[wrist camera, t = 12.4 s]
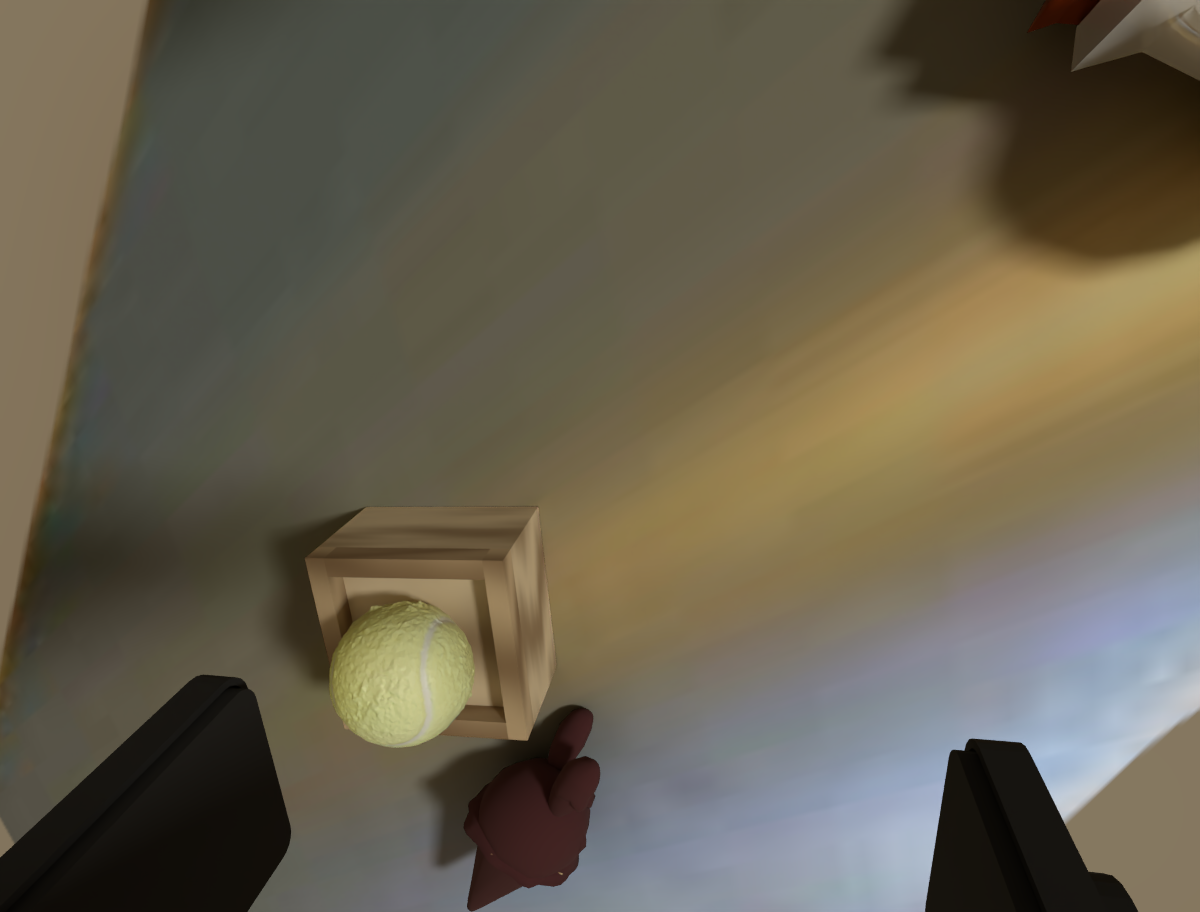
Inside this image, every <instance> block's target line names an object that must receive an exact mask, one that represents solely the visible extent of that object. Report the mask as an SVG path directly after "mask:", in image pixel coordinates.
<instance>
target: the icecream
mask: <svg viewBox="0 0 1200 912" xmlns="http://www.w3.org/2000/svg"><path fill="white" fill-rule="evenodd" d="M592 723H593V714H592V712H591V711H589V710H588V709H585V708H580V709H577V710H574V711H572V712H571V713H570V714H569V715H568V716H567V717H566V718H565V719H564V720H563V721H562V722H561V723H560V725H559V728H558V730H557V732H556V735H555V737H554V739H553V742H552V744H551V747H550V750H549V756H548V759H546V758H533V759H530V760H526V761H522V762H518V763H515V764H513V765H511V766H508V767H506V768H504V769H503V770H502V771H501V772H500V773H499V774H498V775H497V776H496V777H495V778H494V779H493V780H492V782H490V783H489V784H487V785H486V786H485V787H484V788H483V789H482V790H481V791H480V793H479V794H478V795H477V796H476V797H475V798H473V799H472V800H471V801H470V802H469V805H468V808H469V813H468V815H467V818H466V820H465V822H464V830H465V832H466V834H467V835H468V836H469V837H470V838H471V839H472V840H473V841H474V842H475V843H476V844H477V845H478V846H477V851H476V857H475V863H474V869H473V875H472V880H471V886H470V891H469V896H468V903H467V908H468V910H469V911H475V910H477V909H479V908H482V907H484V906H485V905H487V904H489V903H491V902H493V901H495V900H497V899H499V898H501V897H503V896H505V895H507V894H509V893H511V892H512V891H514V890H516V889H518V888H520V887H522V886H524V887H527V888H531V887H534V886H536V885H545V886H553V887H554V886H558V885H561V884H562V883H563V882H564V881H566V879H567V878H568V876H569V875H570V874H571V873H572V872H573V871H575V869H576V868H577V866H578V862H579V853H580V852H581V851H582V850H583V849H584V848H585V847H586V833H587V829H588V826H589V818H590V807H591V806H592V804H593V801H594V798H595V795H594V792H595V790H596V788H597V786H598V784H599V779H600V767H599V764H598V763H597V762H596V761H595V760H594V759H591V758H589V757H586V756H584V757H581V758H577V759H575V758H576V757H577V755H578V754H579V753H580V751H581V750H582V748H583V747H584V745H585V743H586V740H587V738H588V736H589V734H590V731H591V729H592Z"/></svg>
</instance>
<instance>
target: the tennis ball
mask: <svg viewBox="0 0 1200 912" xmlns="http://www.w3.org/2000/svg"><path fill="white" fill-rule="evenodd" d="M332 656H333V657H332V662H331V666H330V669H329V670H330V673H329V679H330V684H329V691H330V697H331V700H332V703H333V706H334V708H335V710H336V713H337V714H338V715H339V716H340V718H341V719H342V720H343V722H344V723H345V724H346V725H347V726H348V727H349V729H350V730H351V731H352V732H353V733H354V734H356V735H358V736H360V737H361V738H363V739H364V740H366V741H368V742H372V743H375V744H379V745H381V746H385V747H394V748H396V747H399V748H400V747H409V746H415V745H419V744H421V743H423V742H426V741H428V740H430V739H432V738H434V737H436V736H437V735H439V734H441V733H442V732H443V731H444V730H445V729H447V728H448V727H449V726H450V724H451V723H452V722H453V721H454V720H455V719H456V718H457V716H458V715H459V714H460V712H461V711H462V710H463V709H464V707H465V705H466V703H467V701H468V699H469V697H471V696H472V692H471V691H472V687H473V683H474V675H475V666H474V659H473V653H472V649H471V645H470V644H469V643H468V640H467V637H466V635H465V633H464V632H463V631H462V630H461V629H460V628H459V627H458V625H457V624H456V623H455V622H454V621H453V620H452V619H451V617H450V616H449V615H448V614H446V613H444V612H443V611H442V610H441V609H440V608H438V607H435V606H434V605H429V604H425V603H423V602H421V601H418V602H409V601H402V602H397V603H393V604H385V605H384V606H377V605H375V606H371V608H370V610H369V611H368V612H366V613H365V614H364V615H362V616H361V617H360V618H358V619H357V620H355V621H354V622H353V623H352V625H351V626H350V627H349V629H348V631H347V632H346V633H345V634H344V635H343V637H342V639H341V640H340V642H339V643H338V646H337V648H336V649H335V651H334V653H333V655H332Z"/></svg>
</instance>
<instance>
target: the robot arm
mask: <svg viewBox="0 0 1200 912" xmlns="http://www.w3.org/2000/svg"><path fill="white" fill-rule="evenodd" d="M290 838H291V827H290V823H289V819H288V815H287V811H286V808H285V804H284V800H283V796H282V793H281V789H280V785H279V781H278V778H277V774H276V770H275V766H274V763H273V759H272V755H271V752H270V748H269V744H268V740H267V737H266V733H265V729H264V725H263V722H262V718H261V714H260V710H259V707H258V703H257V699H256V696H255V694H254V692H253V691H251V690H249V689H248V687H247V685H246V683H245V682H244V681H243V680H242V679H241V678H236V677H225V676H213V675H200V676H196V677H195V678H193V679H192V680H191V681H189V682H188V683H187V684H186V685H185V686H184V687H183V688H182V689H181V690H180V691H178V692H177V693H176V694H175V695H174V696H173V697H172V698H171V699H170V700H169V701H168V702H167V703H166V704H165V705H163V706H162V707H161V708H160V709H159V710H158V711H157V712H156V713H155V714H154V715H153V716H152V717H151V718H150V719H148V720H147V721H146V722H145V723H144V724H143V725H142V726H141V727H140V728H139V729H138V730H137V731H136V732H135V733H133V734H132V735H131V736H130V737H129V738H128V739H127V740H126V741H125V742H124V743H123V744H122V745H121V746H120V747H118V748H117V749H116V750H115V751H114V752H113V753H112V754H111V755H110V756H109V757H108V758H107V759H106V760H104V761H103V762H102V763H101V764H100V765H99V766H98V767H97V768H96V769H95V770H94V771H93V772H92V773H91V774H89V775H88V776H87V777H86V778H85V779H84V780H83V781H82V782H81V783H80V784H79V785H78V786H77V787H76V788H74V789H73V790H72V791H71V792H70V793H69V794H68V795H67V796H66V797H65V798H64V799H63V800H62V801H61V802H59V803H58V804H57V805H56V806H55V807H54V808H53V809H52V810H51V811H50V812H49V813H48V814H47V815H45V816H44V817H43V818H42V819H41V820H40V821H39V822H38V823H37V824H36V825H35V826H34V827H33V828H32V829H30V830H29V831H28V832H27V833H26V834H25V835H24V836H23V837H22V838H21V839H20V840H19V841H18V842H17V843H15V844H14V845H13V846H12V848H10V849H9V850H8V851H7V852H6V853H5V854H4V855H3V856H2V857H0V912H248V910H249V909H250V907H251V905H252V904H253V902H254V901H255V899H256V898H257V896H258V895H259V893H260V892H261V890H262V889H263V887H264V886H265V884H266V883H267V881H268V880H269V878H270V877H271V875H272V874H273V872H274V871H275V869H276V868H277V866H278V865H279V863H280V862H281V860H282V859H283V857H284V855H285V853H286V851H287V849H288V846H289V843H290ZM925 912H1138V910H1137V908H1136V907H1135V905H1134V903H1133V901H1132V899H1131V898H1130V896H1129V895H1128V893H1127V891H1126V890H1125V888H1124V887H1123V885H1122V884H1121V883H1120V882H1119V881H1118V880H1117V879H1116V878H1114V877H1113V876H1112V875H1107V874H1104V873H1095V872H1088V870H1087V868H1086V866H1085V864H1084V862H1083V860H1082V858H1081V856H1080V854H1079V852H1078V850H1077V848H1076V846H1075V844H1074V842H1073V840H1072V838H1071V836H1070V834H1069V832H1068V830H1067V828H1066V826H1065V824H1064V822H1063V820H1062V817H1061V815H1060V813H1059V811H1058V809H1057V807H1056V805H1055V803H1054V801H1053V799H1052V797H1051V795H1050V793H1049V791H1048V789H1047V787H1046V785H1045V783H1044V781H1043V779H1042V777H1041V775H1040V773H1039V771H1038V769H1037V767H1036V765H1035V763H1034V761H1033V759H1032V757H1031V755H1030V753H1029V751H1028V750H1027V748H1026V746H1025V745H1023V744H1022V743H1019V742H1007V741H995V740H983V739H969V740H968V742H967V743H966V747H965V751H962V750H952V751H951V752H950V755H949V760H948V766H947V773H946V779H945V785H944V792H943V798H942V804H941V811H940V817H939V823H938V830H937V836H936V843H935V849H934V855H933V862H932V868H931V874H930V881H929V887H928V893H927V900H926V908H925Z"/></svg>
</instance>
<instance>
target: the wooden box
mask: <svg viewBox="0 0 1200 912" xmlns="http://www.w3.org/2000/svg"><path fill="white" fill-rule="evenodd" d="M305 562H306V566H307V570H308V575H309V579H310V583H311V587H312V592H313V596H314V600H315V604H316V609H317V613H318V617H319V621H320V626H321V630H322V634H323V638H324V643H325V647H326V651H327V655H328V660H329V664H330V666H331V662H332V657H333V656H332V655H333V653H334V651H335V649H336V648H337V646H338V643H339V642H340V640H341V639H342V637H343V635H344V634H345V633H346V632H347V631H348V629H349V627H350V626H351V625H352V623H353V622H354V621H355V620H357V619H358V618H360V617H361V616H362V615H364V614H365V613H366V612H368V611H369V610H370V608H371V606H375V605H377V606H384V605H385V604H393V603H397V602H402V601H409V602H418V601H421V602H423V603H425V604H429V605H434V606H435V607H438V608H440V609H441V610H442V611H443V612H444V613H446V614H448V615H449V616H450V617H451V619H452V620H453V621H454V622H455V623H456V624H457V625H458V627H459V628H460V629H461V630H462V631H463V632H464V633H465V635H466V637H467V640H468V643H469V644H470V645H471V649H472V653H473V659H474V666H475V675H474V683H473V687H472V691H471V692H472V696H471V697H469V699H468V701H467V703H466V705H465V707H464V709H463V710H462V711H461V712H460V714H459V715H458V716H457V718H456V719H455V720H454V721H453V722H452V723H451V724H450V726H449V727H448V728H447V729H445V730H444V731H443V732H442V733H441V734H439V735H447V736H463V737H479V738H495V739H511V740H526V741H528V738H529V736H530V733H531V731H532V728H533V726H534V723H535V721H536V718H537V715H538V713H539V710H540V708H541V705H542V703H543V700H544V698H545V695H546V693H547V690H548V687H549V685H550V682H551V680H552V677H553V675H554V672H555V670H556V667H557V663H556V654H555V646H554V637H553V629H552V620H551V612H550V603H549V594H548V586H547V577H546V569H545V560H544V552H543V543H542V535H541V526H540V518H539V509H538V507H366V508H364V509H363V510H362V511H361V512H360V513H358V514H357V515H356V516H355V517H354V518H352V519H351V520H350V521H349V522H348V523H346V524H345V525H344V526H343V527H342V528H340V529H339V530H338V531H337V532H336V533H334V534H333V535H332V536H331V537H330V538H328V539H327V540H326V541H325V542H324V543H322V544H321V545H320V546H319V547H318V548H316V549H315V550H314V551H313V552H312V553H310V554H309V555H308V556H307V557H306V558H305ZM343 723H344V722H343ZM344 728H345V729H349V727H348V726H347V725H346V724H345V723H344Z"/></svg>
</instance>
